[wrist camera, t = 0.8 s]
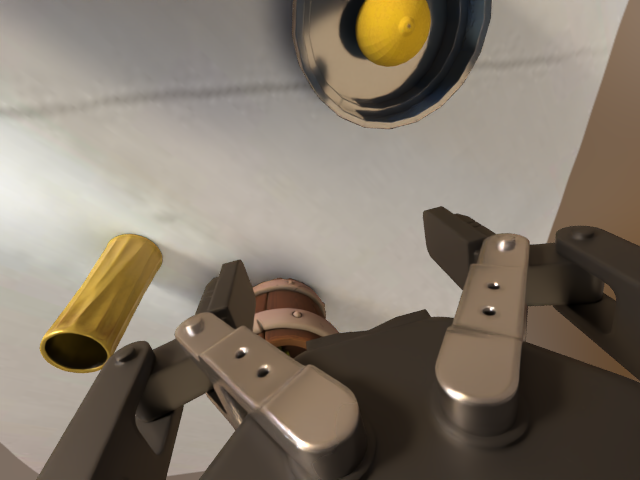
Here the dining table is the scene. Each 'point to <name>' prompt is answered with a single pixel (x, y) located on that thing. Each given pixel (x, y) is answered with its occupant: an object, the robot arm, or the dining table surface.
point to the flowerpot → (289, 315)
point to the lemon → (392, 30)
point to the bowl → (379, 81)
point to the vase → (102, 306)
